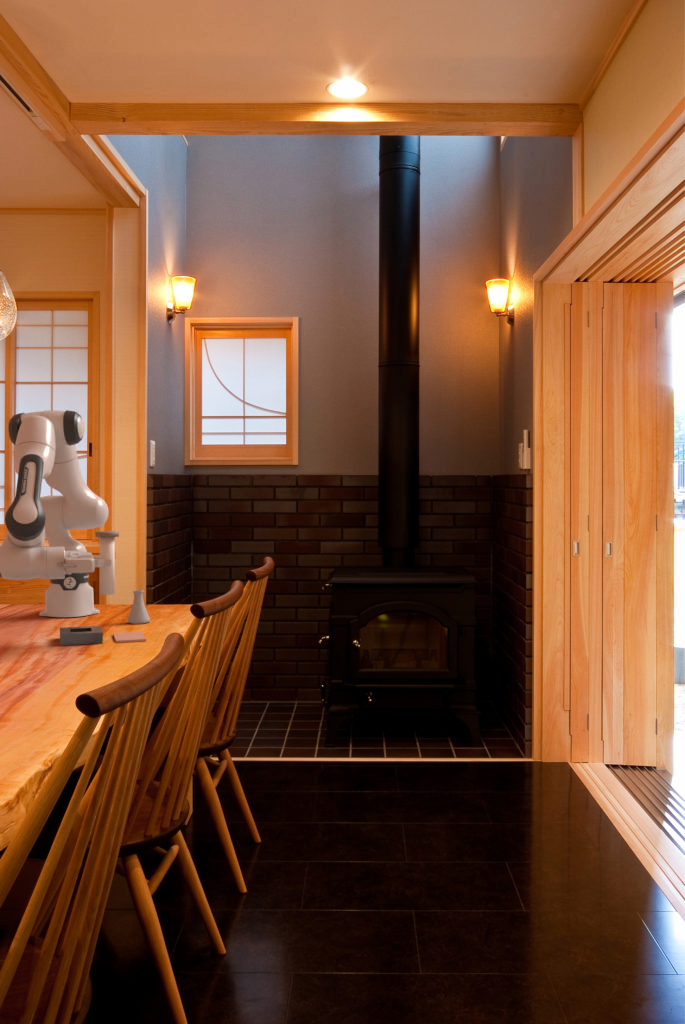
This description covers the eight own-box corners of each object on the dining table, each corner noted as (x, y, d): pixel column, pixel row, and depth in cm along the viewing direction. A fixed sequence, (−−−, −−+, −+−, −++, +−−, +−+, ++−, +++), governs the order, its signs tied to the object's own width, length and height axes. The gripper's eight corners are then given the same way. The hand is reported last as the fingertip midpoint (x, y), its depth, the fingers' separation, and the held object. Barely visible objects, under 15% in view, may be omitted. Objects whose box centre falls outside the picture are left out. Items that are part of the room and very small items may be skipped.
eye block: (59, 638, 243) (59, 627, 243) (100, 636, 247) (100, 625, 247) (60, 645, 233) (60, 634, 233) (102, 643, 236) (102, 632, 236)
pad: (113, 635, 248) (113, 633, 248) (141, 633, 251) (141, 631, 251) (116, 642, 237) (116, 640, 237) (146, 641, 239) (146, 639, 239)
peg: (95, 592, 244) (94, 531, 243) (118, 591, 246) (118, 531, 245) (95, 595, 237) (95, 533, 237) (120, 594, 239) (119, 532, 239)
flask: (144, 624, 266) (144, 592, 265) (122, 624, 267) (122, 591, 267) (154, 620, 273) (153, 589, 273) (132, 620, 274) (132, 588, 274)
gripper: (58, 554, 227) (112, 553, 231) (58, 548, 247) (108, 547, 251) (58, 578, 227) (112, 577, 232) (58, 570, 247) (108, 568, 251)
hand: (110, 561), depth 241 cm, fingers closed on peg, 4 cm apart
